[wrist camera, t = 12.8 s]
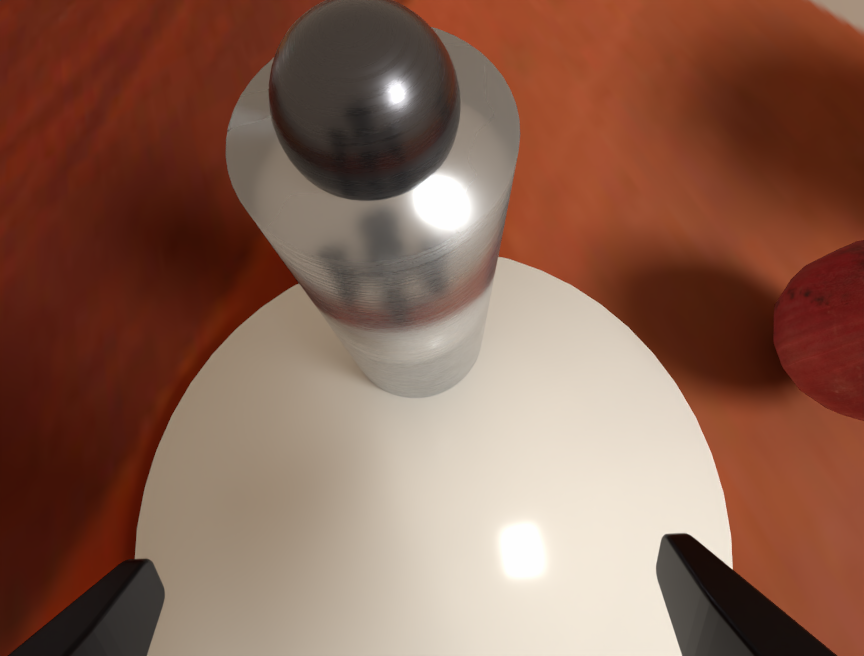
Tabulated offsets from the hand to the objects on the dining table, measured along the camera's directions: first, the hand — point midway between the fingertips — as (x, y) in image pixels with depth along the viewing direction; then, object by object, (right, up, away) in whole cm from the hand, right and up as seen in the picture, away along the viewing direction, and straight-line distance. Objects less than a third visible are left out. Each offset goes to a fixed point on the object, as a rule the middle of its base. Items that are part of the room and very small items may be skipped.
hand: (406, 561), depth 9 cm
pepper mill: (0, +4, +10) cm, 11 cm away
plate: (0, -2, +9) cm, 9 cm away
